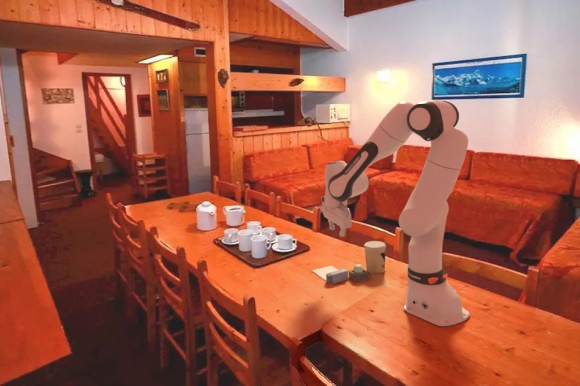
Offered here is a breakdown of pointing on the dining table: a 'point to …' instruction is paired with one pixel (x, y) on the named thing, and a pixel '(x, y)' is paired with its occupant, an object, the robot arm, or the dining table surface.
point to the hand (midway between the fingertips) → (337, 232)
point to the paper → (324, 271)
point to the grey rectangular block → (337, 276)
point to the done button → (358, 269)
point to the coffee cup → (375, 256)
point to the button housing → (358, 276)
